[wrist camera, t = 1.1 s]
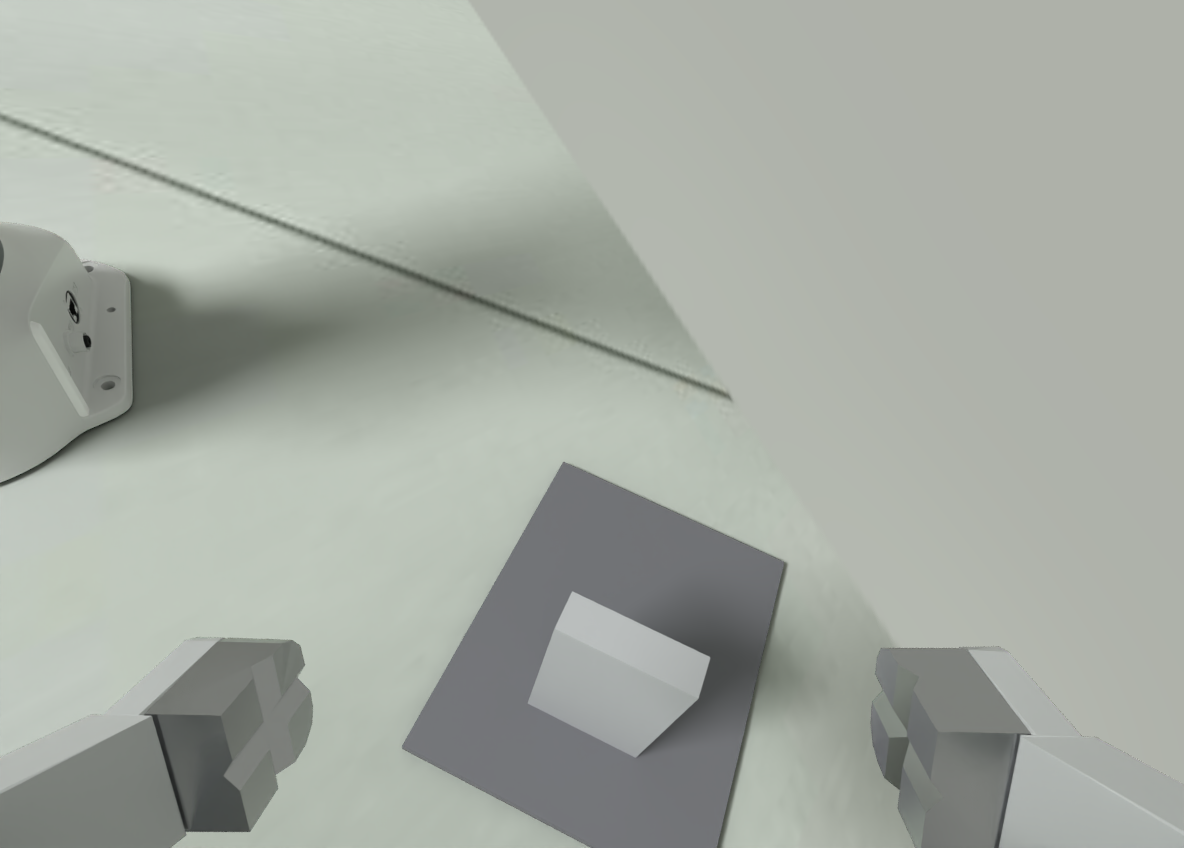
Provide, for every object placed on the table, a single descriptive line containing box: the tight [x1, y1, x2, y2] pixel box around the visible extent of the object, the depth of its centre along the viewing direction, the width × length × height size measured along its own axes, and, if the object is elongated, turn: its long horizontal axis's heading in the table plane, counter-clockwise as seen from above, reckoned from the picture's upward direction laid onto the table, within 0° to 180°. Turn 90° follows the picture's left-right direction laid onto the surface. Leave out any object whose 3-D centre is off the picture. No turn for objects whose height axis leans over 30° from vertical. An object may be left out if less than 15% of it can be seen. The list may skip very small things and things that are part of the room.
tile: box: [528, 591, 710, 758], centre depth 34 cm, size 2×7×12 cm, turn 67°
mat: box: [402, 462, 784, 848], centre depth 42 cm, size 22×18×1 cm
